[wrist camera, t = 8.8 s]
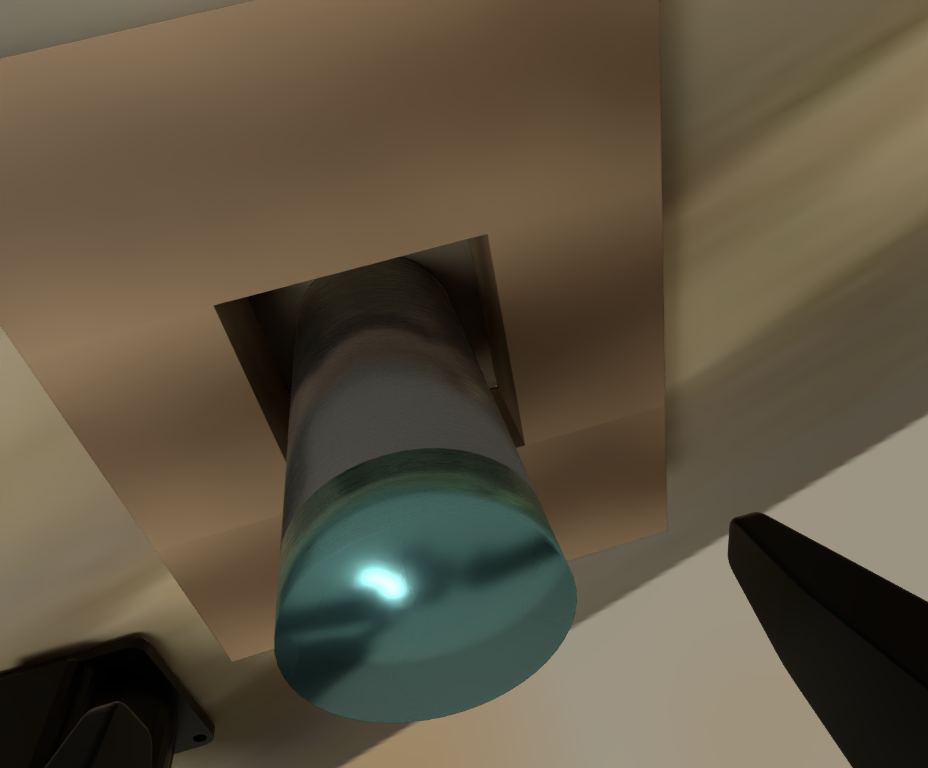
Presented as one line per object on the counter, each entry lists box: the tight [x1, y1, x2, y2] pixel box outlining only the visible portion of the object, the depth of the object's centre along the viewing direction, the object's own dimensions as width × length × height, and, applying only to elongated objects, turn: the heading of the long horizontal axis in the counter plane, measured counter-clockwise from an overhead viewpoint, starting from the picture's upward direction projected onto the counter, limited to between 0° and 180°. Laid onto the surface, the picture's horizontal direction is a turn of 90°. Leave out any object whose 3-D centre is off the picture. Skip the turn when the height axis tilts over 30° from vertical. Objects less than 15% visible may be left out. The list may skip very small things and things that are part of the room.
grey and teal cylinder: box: [274, 257, 577, 723], centre depth 13 cm, size 4×4×10 cm
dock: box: [0, 0, 667, 662], centre depth 16 cm, size 16×14×3 cm
